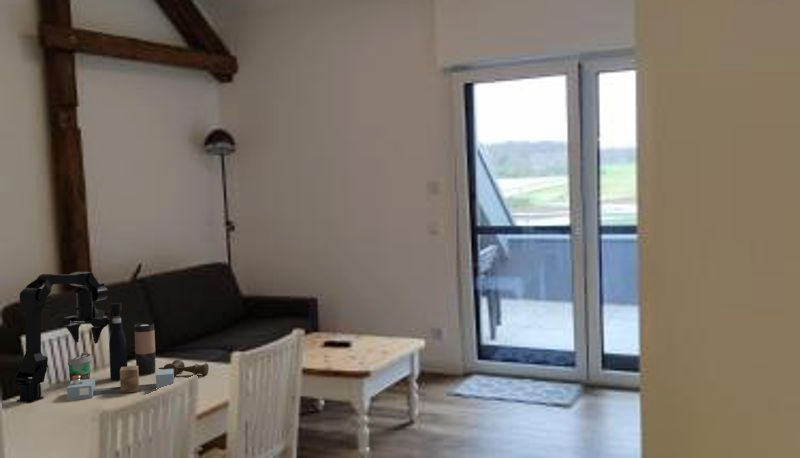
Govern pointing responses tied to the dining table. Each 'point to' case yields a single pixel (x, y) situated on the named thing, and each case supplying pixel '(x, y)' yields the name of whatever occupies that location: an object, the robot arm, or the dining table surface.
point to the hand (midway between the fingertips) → (86, 342)
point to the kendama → (186, 368)
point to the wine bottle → (117, 344)
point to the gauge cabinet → (81, 389)
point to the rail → (118, 389)
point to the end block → (164, 377)
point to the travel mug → (145, 348)
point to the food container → (80, 366)
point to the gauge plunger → (76, 380)
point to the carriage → (129, 379)
